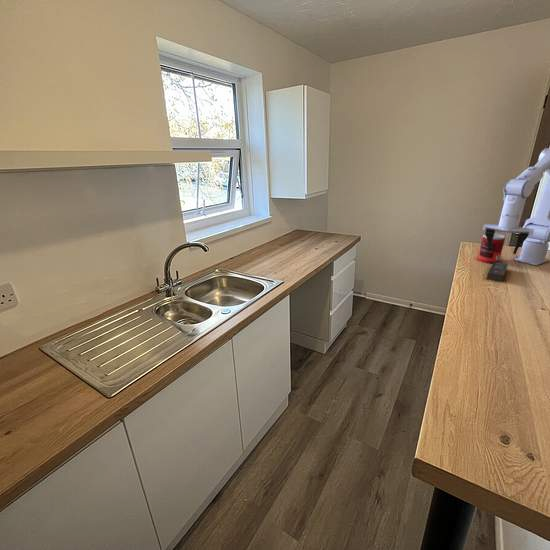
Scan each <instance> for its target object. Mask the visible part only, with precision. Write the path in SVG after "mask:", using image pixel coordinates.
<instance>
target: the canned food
mask: <svg viewBox="0 0 550 550" xmlns="http://www.w3.org/2000/svg"><path fill="white" fill-rule="evenodd" d="M505 241H506V235H503V234H501V233H495V234H494V237H493V241H492V247H491V250H488V241H487V237H486V235H485V233H484V234H483V235H482V239H481V243H480V248H479V252H478V256H477V259H478V261H480V262H482V263H486V264H493V263H494V262H499V261H500V260H501V256H502V253H503V248H504V244H505Z"/></svg>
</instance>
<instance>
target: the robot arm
mask: <svg viewBox="0 0 550 550" xmlns="http://www.w3.org/2000/svg"><path fill="white" fill-rule="evenodd" d="M545 173H547V174H548V177H547V181H546V183H545V186H544V189H543V192H542V195H541V198H540V201H539V204H538V207H537V210H536V213H535V215H534V216H533V217H529V218H528V219H526V220H525V222H524V224H523V226H520V222H521V219H522V215H523V212H524V207H525V204H526V200H527V198H528V197H530V195H531V194H532V193H533V190H534V189H535V185H537V184H538V183H539V182H540V181H541V180H542V179H543V178H544V174H545ZM502 201H503V206H502V210H501V213H500V218H499V222H498V224H492V223H491V224H490V223H484V224H483V227H482V231H485V232H484V234H485V235H486V237H487V241H488V250H491V247H492V241H493V237H494V234H496V232H500V233H508V234H509V233H510V234H518V236H517V240H516V244H515V247H514V249H513V251H512V252H513V253H512V254H513V255H516V254H517V251H518V250H519V248H520V247H521V251H520V254H519V257H516V258H514V261H516V262H520V263H525V264H529V265H534V266H538V265H541V264H543V263H545V262H547V261H548V259H546V257H547V254H548V250H549V248H550V246H549V245H550V244H549V243H550V148H549V147H545V148H544V149H543V150H542V151H541V152H540V153H539V156H538V160H537V162H536V163H535V165H534V166H528V168H526V169H525V170H523V172H521V173H520V174H519V175H518V176H516V178H512V179H510V180H508V181H507V182H506V183H505V185H504V187H503V198H502ZM521 245H522V246H521Z"/></svg>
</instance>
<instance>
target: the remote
mask: <svg viewBox="0 0 550 550" xmlns="http://www.w3.org/2000/svg"><path fill="white" fill-rule="evenodd" d="M508 266H509V264H508V263H506V262H505V263H503V262H499V261H498V262H494V263H492V265H491V267H490V268H489V270H488V272H487V276H486V280H490V281H494V282H500V283H502V281H503V280H504V277H505V275H506V273H507V270H508Z"/></svg>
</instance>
